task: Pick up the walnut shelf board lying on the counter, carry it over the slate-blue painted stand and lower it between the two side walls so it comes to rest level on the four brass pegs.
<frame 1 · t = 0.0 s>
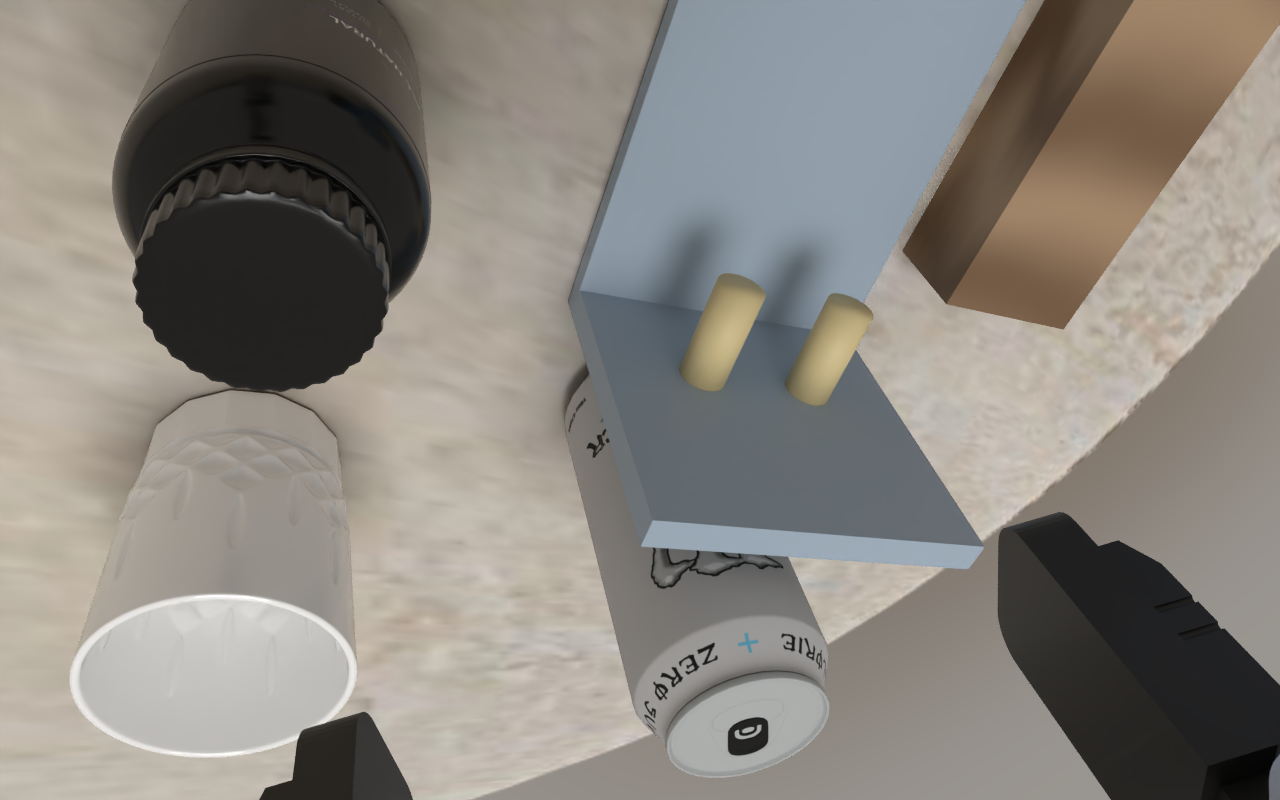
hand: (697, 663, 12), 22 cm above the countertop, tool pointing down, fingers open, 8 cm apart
peg stand: (814, 73, 32), on the countertop
supplement bottle: (297, 73, 28), on the countertop
walnut board: (1064, 79, 34), on the countertop
white cup: (247, 454, 37), on the countertop
energy drink can: (634, 396, 39), on the countertop
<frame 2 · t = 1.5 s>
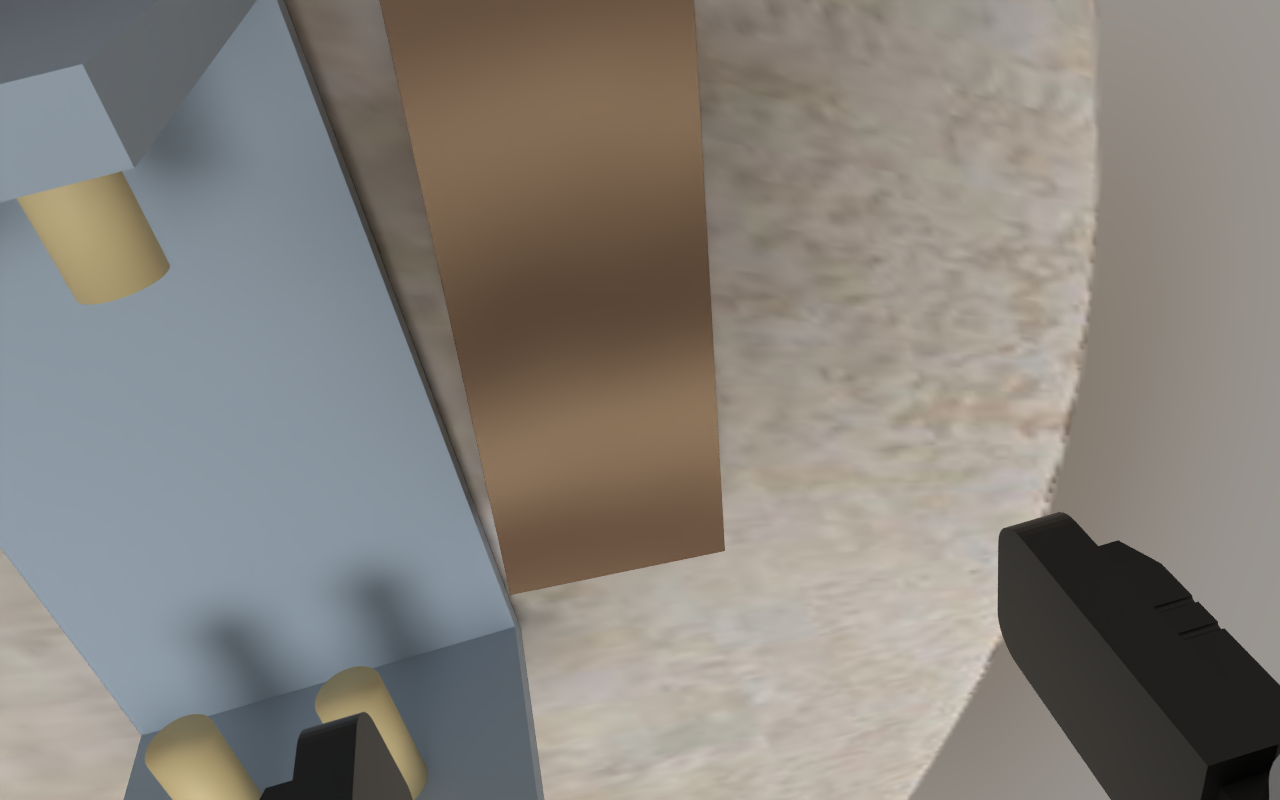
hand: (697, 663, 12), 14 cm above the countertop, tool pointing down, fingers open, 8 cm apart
peg stand: (199, 415, 24), on the countertop
walnut board: (558, 235, 24), on the countertop
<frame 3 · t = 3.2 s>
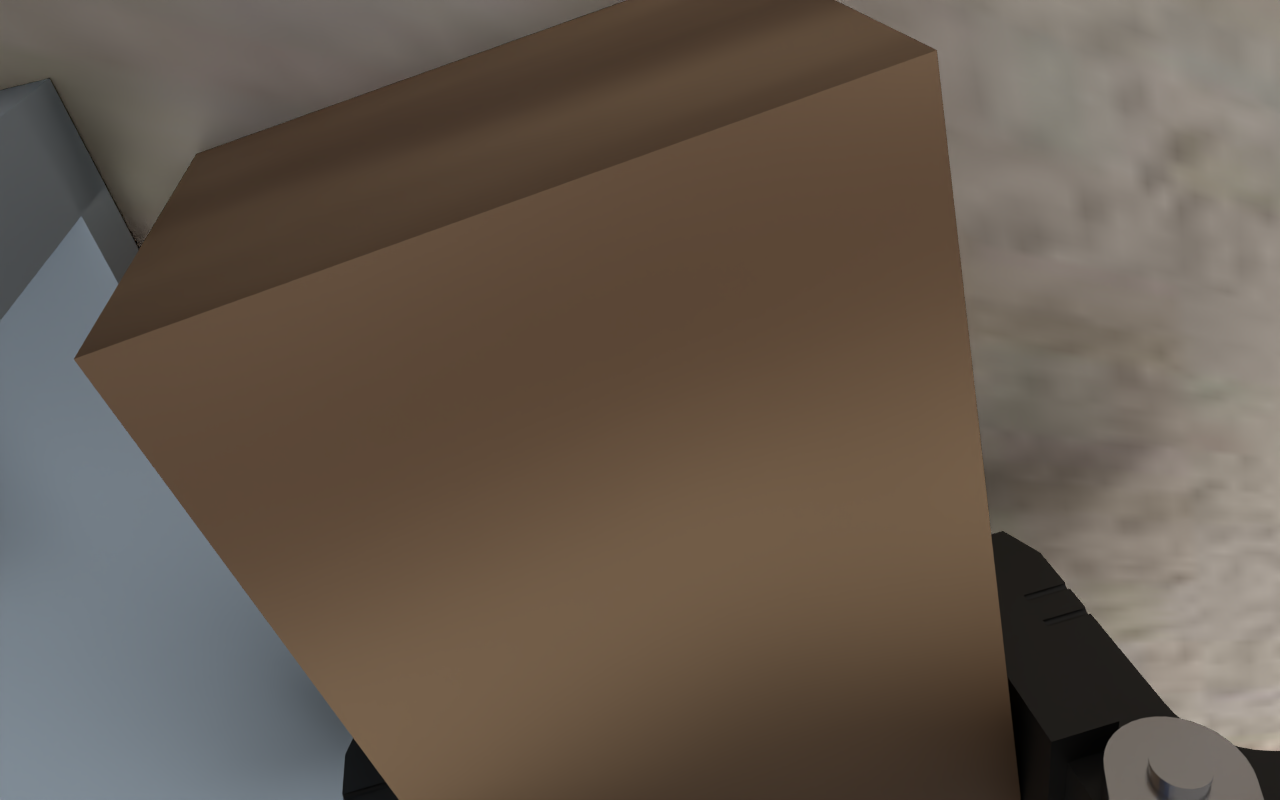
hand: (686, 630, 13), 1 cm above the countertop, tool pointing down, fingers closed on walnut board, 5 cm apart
walnut board: (677, 594, 13), on the countertop, touching gripper
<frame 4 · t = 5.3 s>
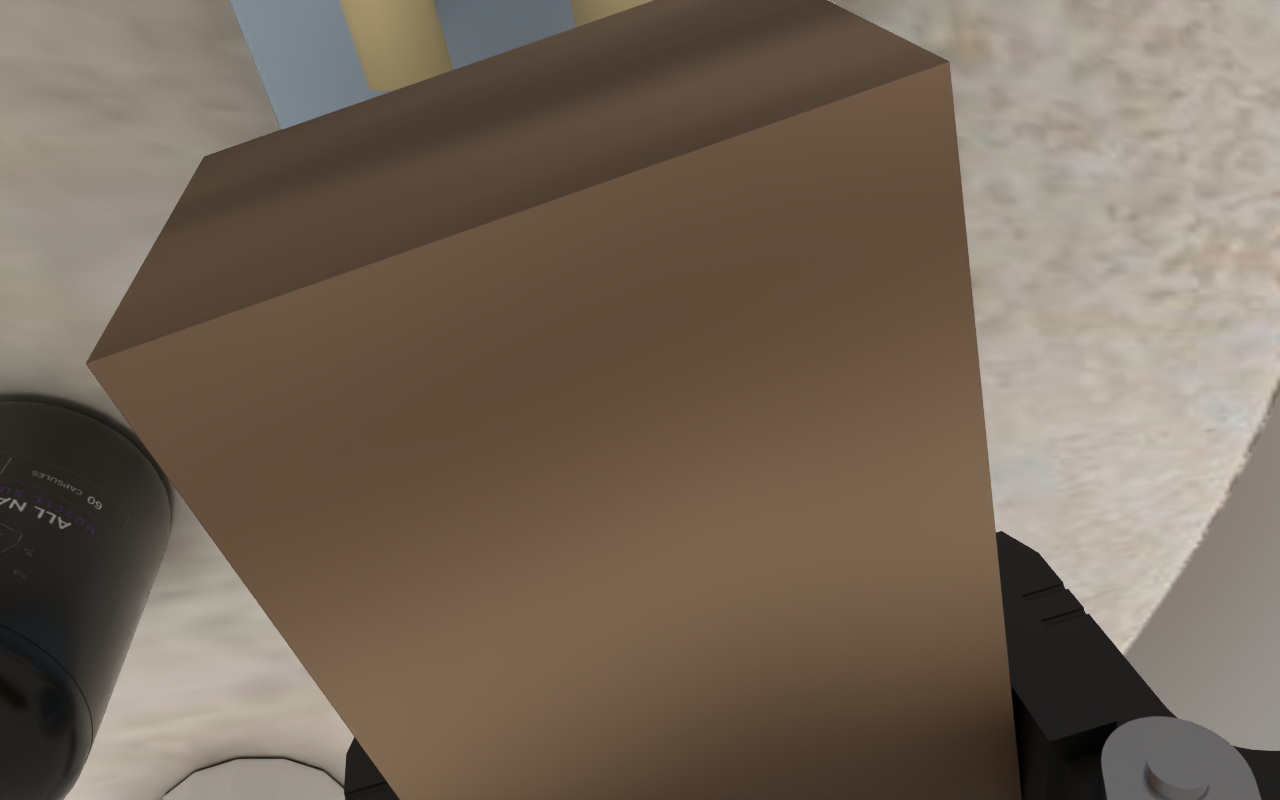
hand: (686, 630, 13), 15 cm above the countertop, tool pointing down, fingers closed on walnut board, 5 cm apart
peg stand: (554, 223, 25), on the countertop
supplement bottle: (42, 493, 27), on the countertop
walnut board: (679, 598, 13), point 14 cm above the countertop, touching gripper
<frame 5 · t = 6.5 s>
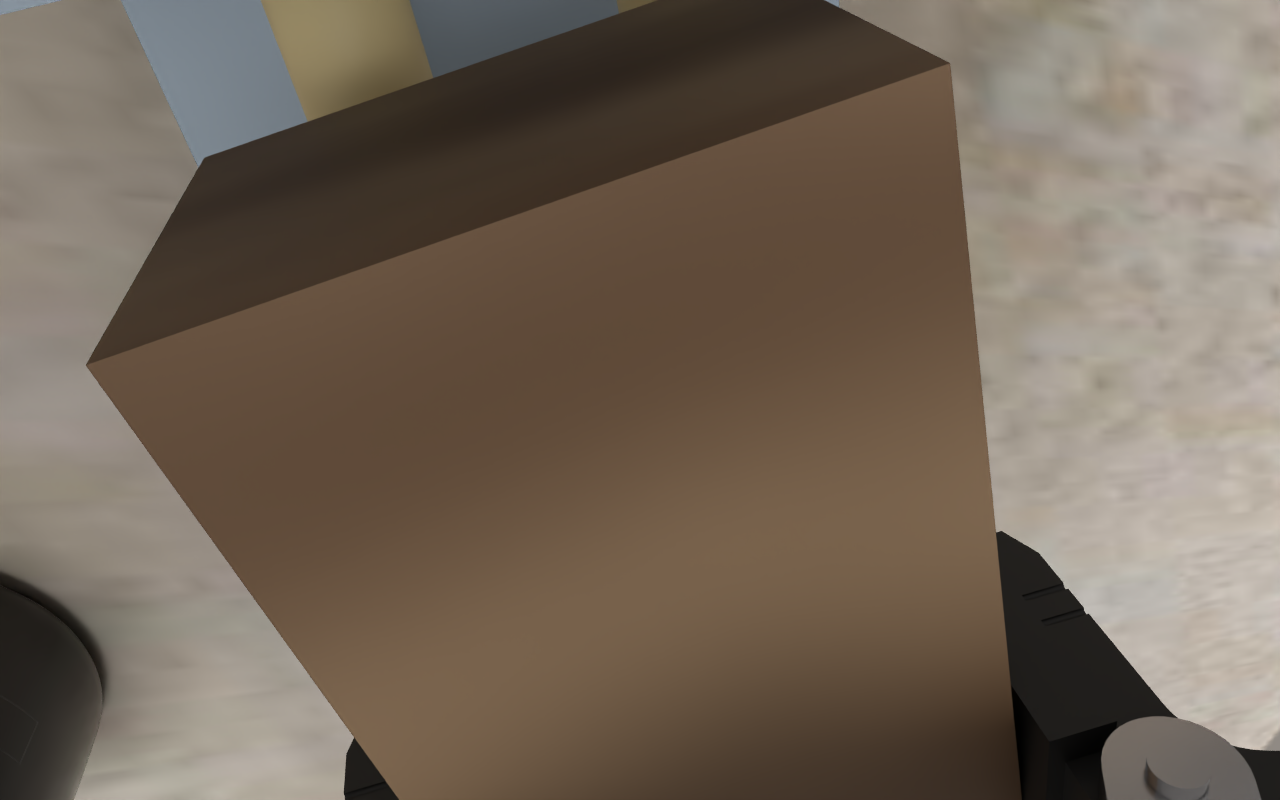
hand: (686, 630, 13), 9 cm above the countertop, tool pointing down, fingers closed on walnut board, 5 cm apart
peg stand: (587, 330, 20), on the countertop
walnut board: (679, 599, 13), point 8 cm above the countertop, touching gripper
when the fingers open (8 cm above the countertop, at t = 7.6 s): walnut board drops 1 cm, resting on peg stand.
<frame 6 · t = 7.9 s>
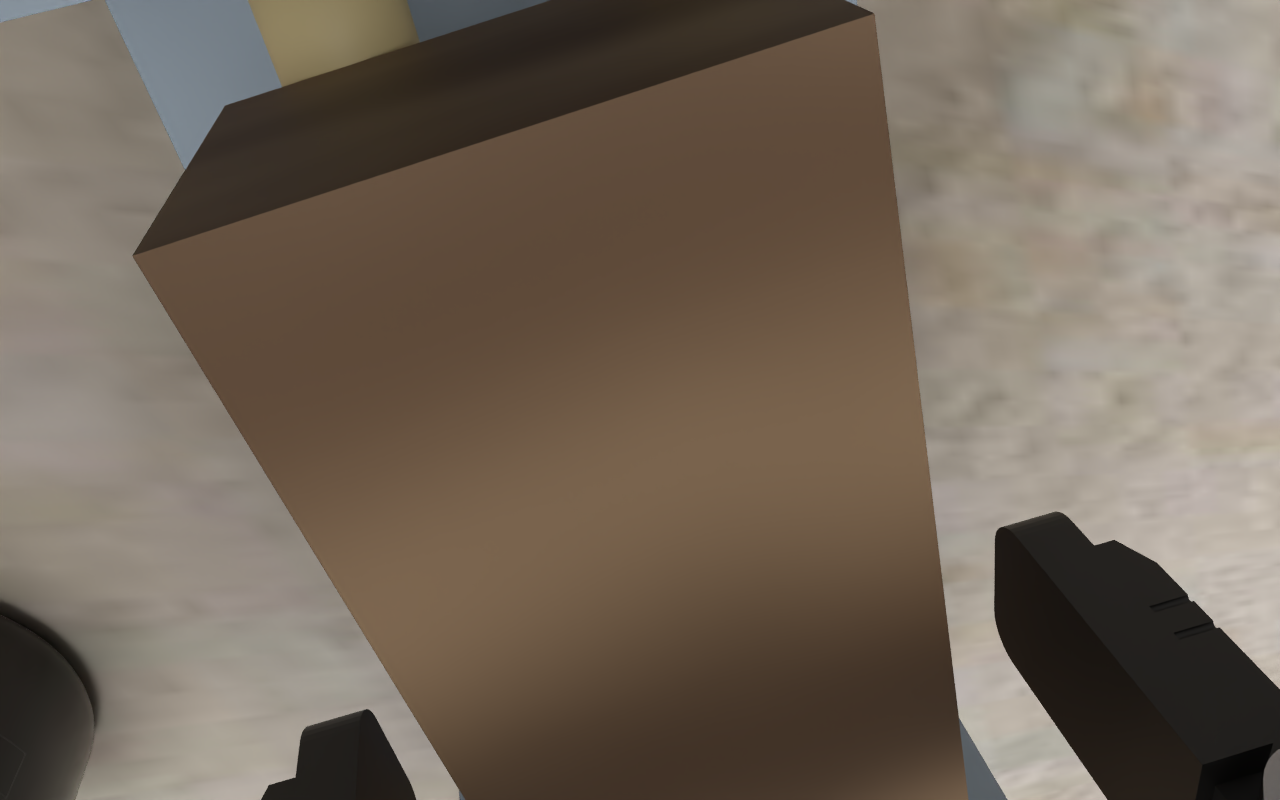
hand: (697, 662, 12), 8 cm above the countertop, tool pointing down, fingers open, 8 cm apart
peg stand: (594, 346, 19), on the countertop
walnut board: (652, 539, 14), point 6 cm above the countertop, touching peg stand
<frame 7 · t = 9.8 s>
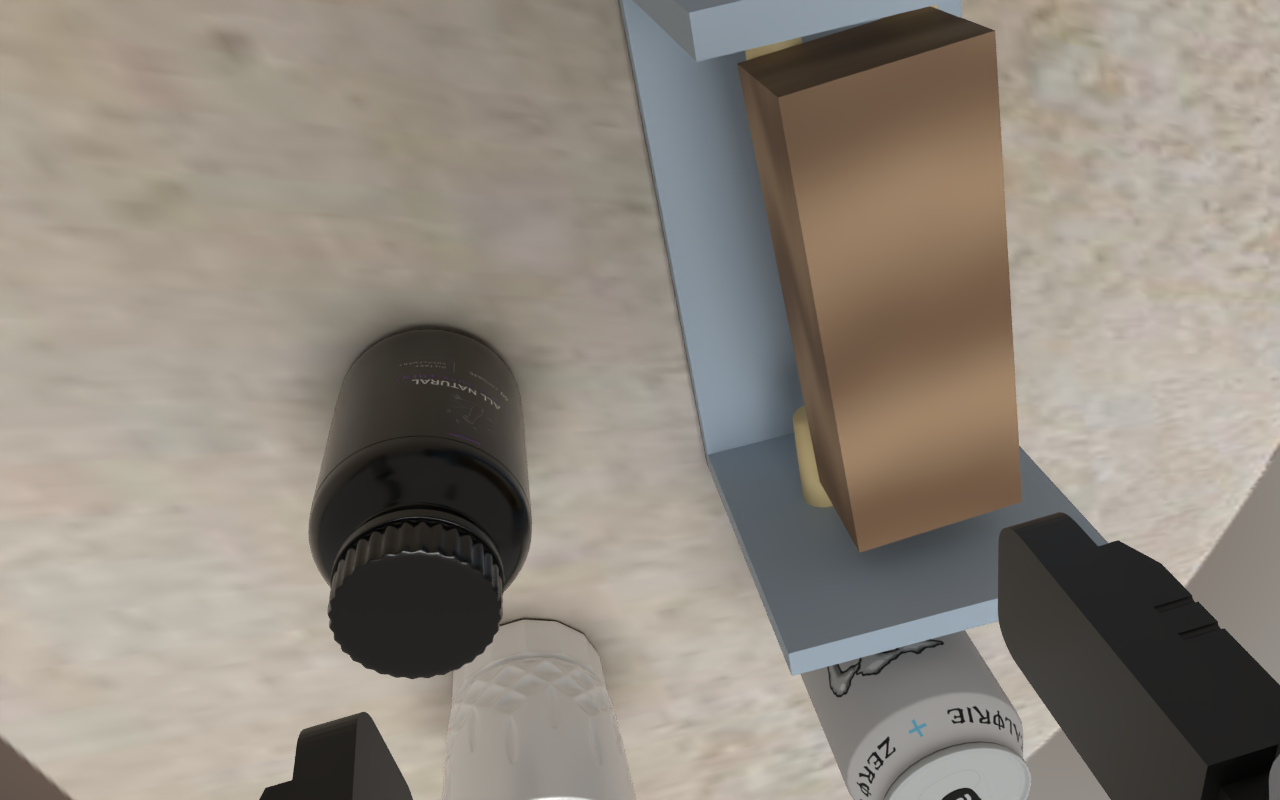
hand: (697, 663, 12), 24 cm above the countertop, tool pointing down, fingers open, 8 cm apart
peg stand: (810, 208, 36), on the countertop
supplement bottle: (430, 400, 37), on the countertop
walnut board: (866, 273, 31), point 6 cm above the countertop, touching peg stand
white cup: (527, 669, 45), on the countertop
energy drink can: (807, 510, 43), on the countertop
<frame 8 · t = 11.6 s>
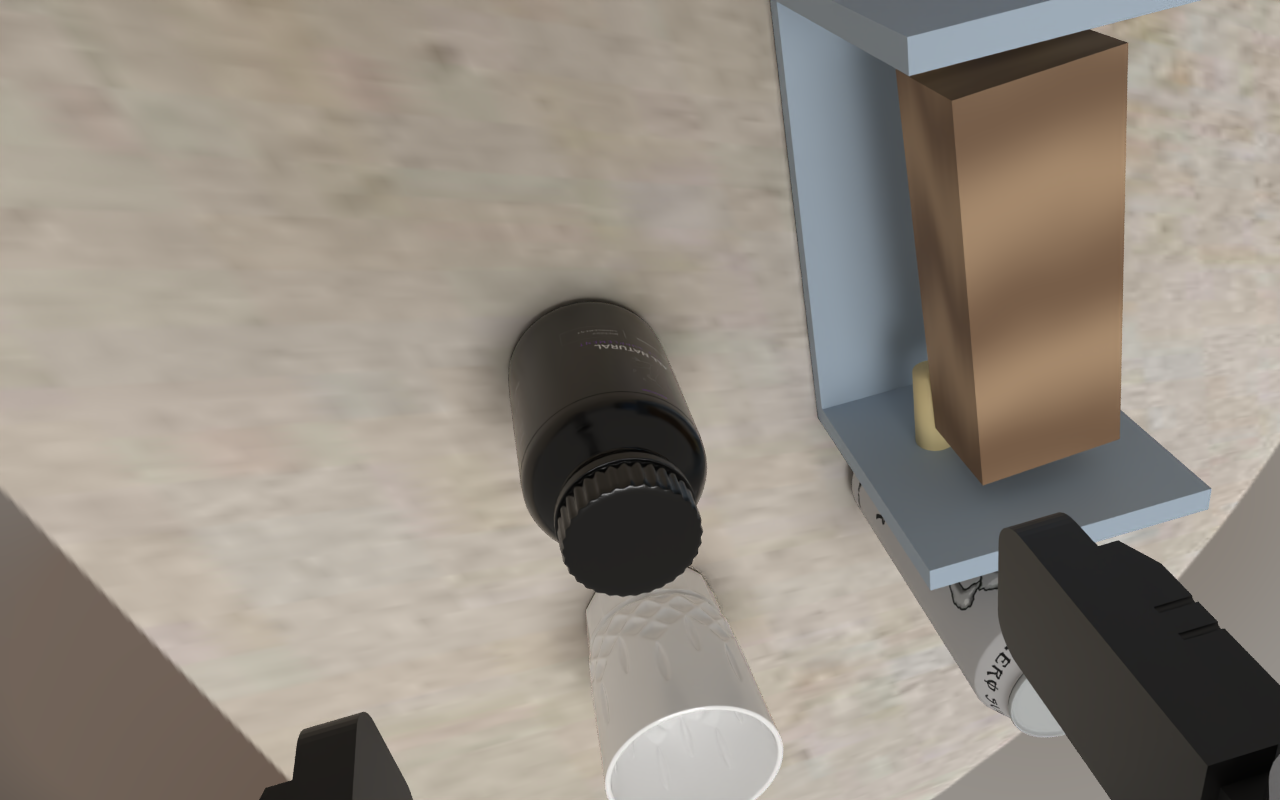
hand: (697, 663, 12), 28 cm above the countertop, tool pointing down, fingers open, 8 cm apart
peg stand: (921, 190, 41), on the countertop
supplement bottle: (583, 365, 42), on the countertop
walnut board: (987, 245, 36), point 6 cm above the countertop, touching peg stand
white cup: (648, 607, 51), on the countertop
energy drink can: (900, 458, 49), on the countertop
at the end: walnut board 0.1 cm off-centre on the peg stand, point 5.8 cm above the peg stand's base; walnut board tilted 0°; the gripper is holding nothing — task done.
